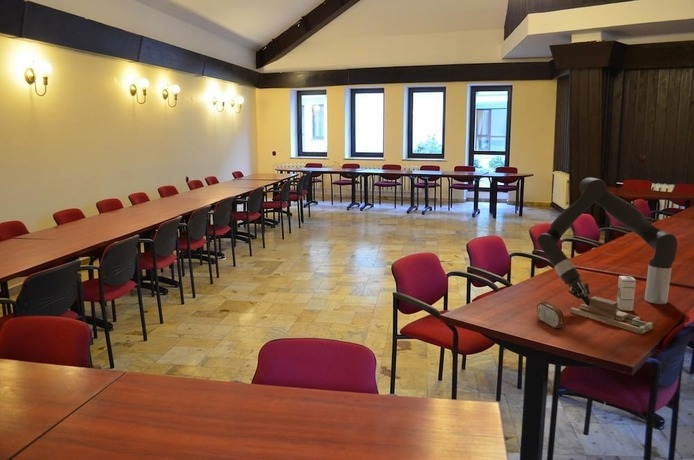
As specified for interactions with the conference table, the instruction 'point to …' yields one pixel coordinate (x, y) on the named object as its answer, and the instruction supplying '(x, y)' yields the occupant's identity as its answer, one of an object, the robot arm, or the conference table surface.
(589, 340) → the conference table surface
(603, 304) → the block
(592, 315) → the lane
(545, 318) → the tin
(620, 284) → the syrup box
